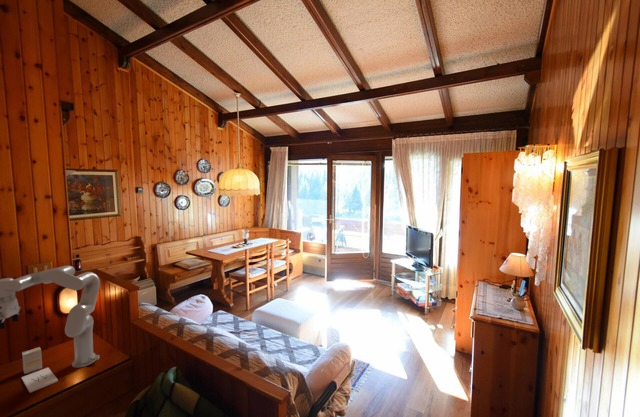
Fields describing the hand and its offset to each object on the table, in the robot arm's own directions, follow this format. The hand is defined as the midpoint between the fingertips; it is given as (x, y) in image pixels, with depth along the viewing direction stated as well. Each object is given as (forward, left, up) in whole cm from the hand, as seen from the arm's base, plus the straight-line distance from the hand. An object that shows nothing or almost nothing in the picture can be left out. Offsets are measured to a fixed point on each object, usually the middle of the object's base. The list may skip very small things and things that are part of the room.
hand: (8, 324), depth 181 cm
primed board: (-25, +15, -29) cm, 41 cm away
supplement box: (-14, +4, -29) cm, 33 cm away
